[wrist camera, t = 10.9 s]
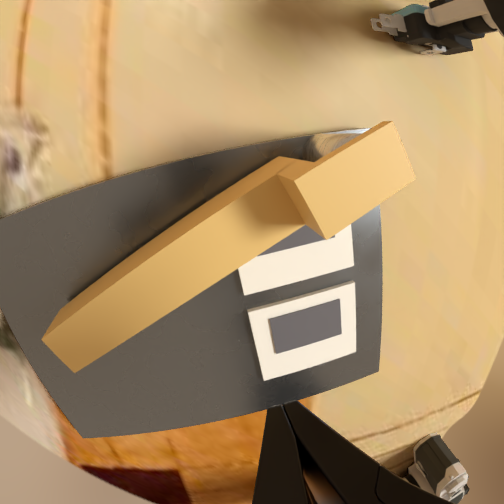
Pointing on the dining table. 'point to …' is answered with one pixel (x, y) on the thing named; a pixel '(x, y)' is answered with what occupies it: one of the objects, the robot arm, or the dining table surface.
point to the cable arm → (230, 239)
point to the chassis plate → (180, 319)
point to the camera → (437, 470)
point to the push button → (444, 24)
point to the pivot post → (324, 145)
